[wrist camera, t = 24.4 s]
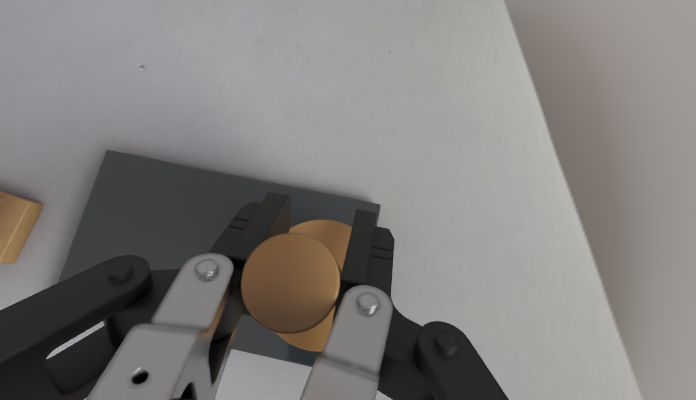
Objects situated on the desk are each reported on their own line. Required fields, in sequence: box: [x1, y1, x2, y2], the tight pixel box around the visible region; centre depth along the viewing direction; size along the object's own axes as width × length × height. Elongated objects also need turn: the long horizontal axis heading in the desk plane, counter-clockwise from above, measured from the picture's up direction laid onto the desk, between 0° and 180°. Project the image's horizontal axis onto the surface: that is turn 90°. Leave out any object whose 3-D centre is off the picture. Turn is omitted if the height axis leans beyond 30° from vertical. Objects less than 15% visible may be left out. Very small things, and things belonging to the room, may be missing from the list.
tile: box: [58, 150, 380, 367], centre depth 22 cm, size 18×10×1 cm, turn 78°
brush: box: [241, 220, 352, 352], centre depth 15 cm, size 6×6×13 cm
